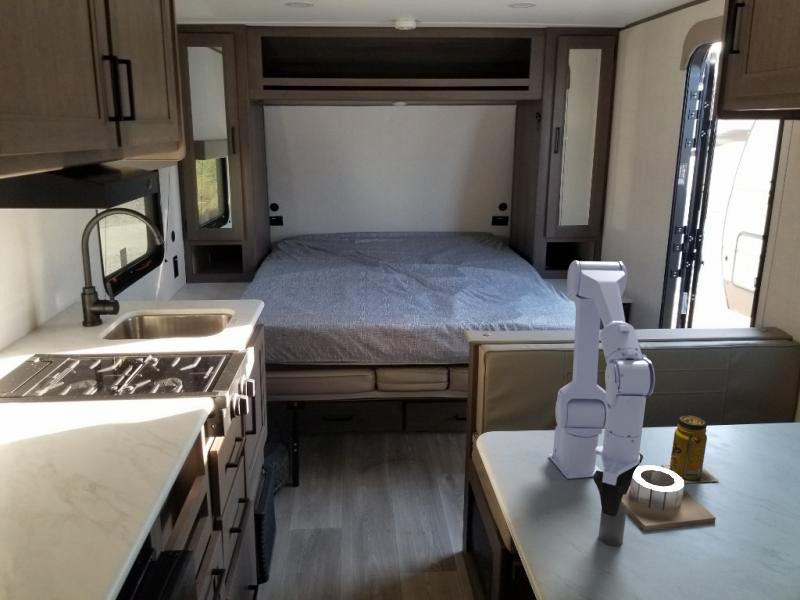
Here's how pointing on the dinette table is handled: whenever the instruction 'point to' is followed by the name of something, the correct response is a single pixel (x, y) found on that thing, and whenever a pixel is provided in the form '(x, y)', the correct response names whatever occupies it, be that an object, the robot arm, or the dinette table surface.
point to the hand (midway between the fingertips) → (614, 502)
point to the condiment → (690, 451)
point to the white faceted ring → (657, 488)
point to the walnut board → (667, 514)
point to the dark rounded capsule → (612, 527)
